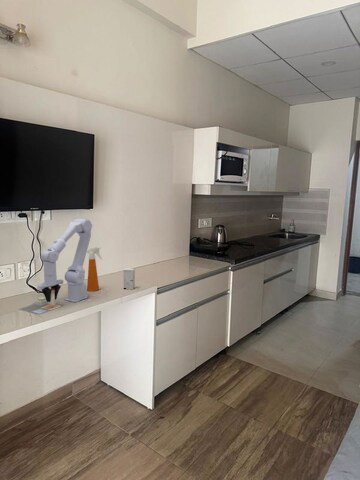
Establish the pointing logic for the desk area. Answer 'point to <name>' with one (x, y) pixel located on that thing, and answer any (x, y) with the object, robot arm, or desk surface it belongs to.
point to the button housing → (40, 302)
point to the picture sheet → (40, 308)
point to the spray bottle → (93, 270)
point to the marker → (52, 297)
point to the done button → (41, 299)
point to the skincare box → (129, 278)
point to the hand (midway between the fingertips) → (51, 300)
